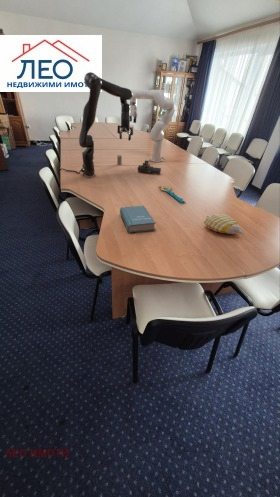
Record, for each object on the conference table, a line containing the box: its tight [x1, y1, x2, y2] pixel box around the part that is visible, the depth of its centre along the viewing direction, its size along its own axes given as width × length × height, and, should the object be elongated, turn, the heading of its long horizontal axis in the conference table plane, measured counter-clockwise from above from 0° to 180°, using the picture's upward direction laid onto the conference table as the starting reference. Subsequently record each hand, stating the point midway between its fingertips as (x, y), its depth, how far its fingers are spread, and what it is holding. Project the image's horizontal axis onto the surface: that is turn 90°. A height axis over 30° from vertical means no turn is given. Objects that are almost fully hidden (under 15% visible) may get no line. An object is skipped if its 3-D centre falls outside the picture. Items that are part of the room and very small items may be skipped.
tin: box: [116, 154, 123, 166], centre depth 231 cm, size 4×4×9 cm
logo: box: [158, 185, 186, 204], centre depth 176 cm, size 34×10×1 cm, turn 16°
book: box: [119, 205, 156, 233], centre depth 136 cm, size 23×16×5 cm
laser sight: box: [137, 160, 162, 175], centre depth 213 cm, size 10×22×10 cm, turn 78°
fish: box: [203, 213, 245, 235], centre depth 133 cm, size 25×8×20 cm
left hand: (125, 139), depth 193 cm, fingers open, 8 cm apart
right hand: (132, 122), depth 248 cm, fingers open, 9 cm apart
